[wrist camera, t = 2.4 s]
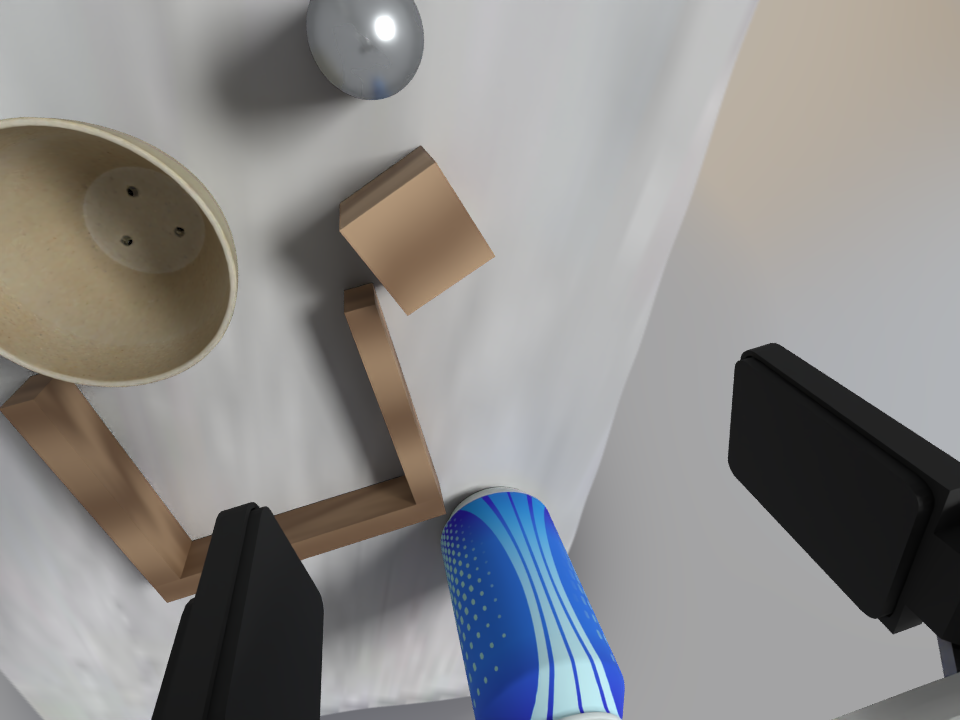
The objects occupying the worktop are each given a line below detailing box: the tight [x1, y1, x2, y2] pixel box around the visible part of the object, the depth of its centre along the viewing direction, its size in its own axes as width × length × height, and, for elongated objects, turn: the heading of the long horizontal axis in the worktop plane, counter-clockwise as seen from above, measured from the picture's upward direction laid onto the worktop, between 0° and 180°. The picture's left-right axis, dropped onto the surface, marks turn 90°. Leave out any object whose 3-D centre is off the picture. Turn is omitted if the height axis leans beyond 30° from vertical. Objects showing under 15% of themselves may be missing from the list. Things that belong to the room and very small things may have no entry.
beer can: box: [441, 487, 624, 720], centre depth 33 cm, size 8×8×16 cm
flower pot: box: [0, 117, 238, 387], centre depth 22 cm, size 10×10×7 cm
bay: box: [0, 283, 446, 603], centre depth 31 cm, size 16×18×3 cm
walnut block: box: [339, 146, 495, 316], centre depth 25 cm, size 5×5×5 cm
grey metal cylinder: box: [306, 0, 424, 100], centre depth 21 cm, size 4×4×6 cm
